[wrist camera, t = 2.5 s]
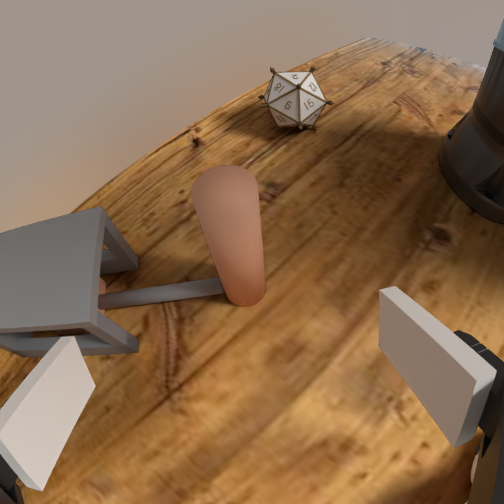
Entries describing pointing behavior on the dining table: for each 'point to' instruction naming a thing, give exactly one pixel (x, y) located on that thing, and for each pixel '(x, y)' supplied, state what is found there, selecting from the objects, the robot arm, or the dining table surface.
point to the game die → (294, 99)
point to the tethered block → (213, 246)
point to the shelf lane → (61, 283)
